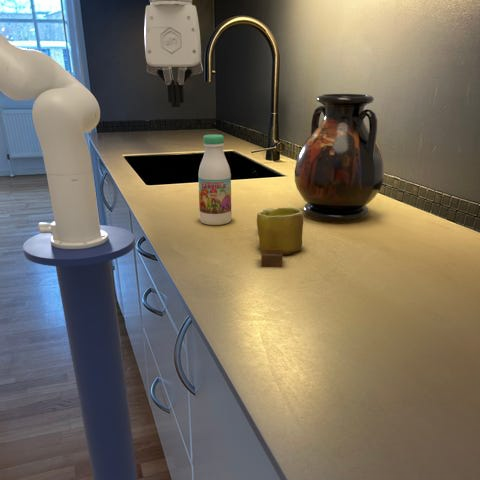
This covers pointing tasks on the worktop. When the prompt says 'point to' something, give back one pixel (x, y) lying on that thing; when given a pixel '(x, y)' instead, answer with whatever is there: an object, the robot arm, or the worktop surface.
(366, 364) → the worktop surface
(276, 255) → the block
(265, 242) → the mug
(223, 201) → the milk bottle
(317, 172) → the amphora vase
